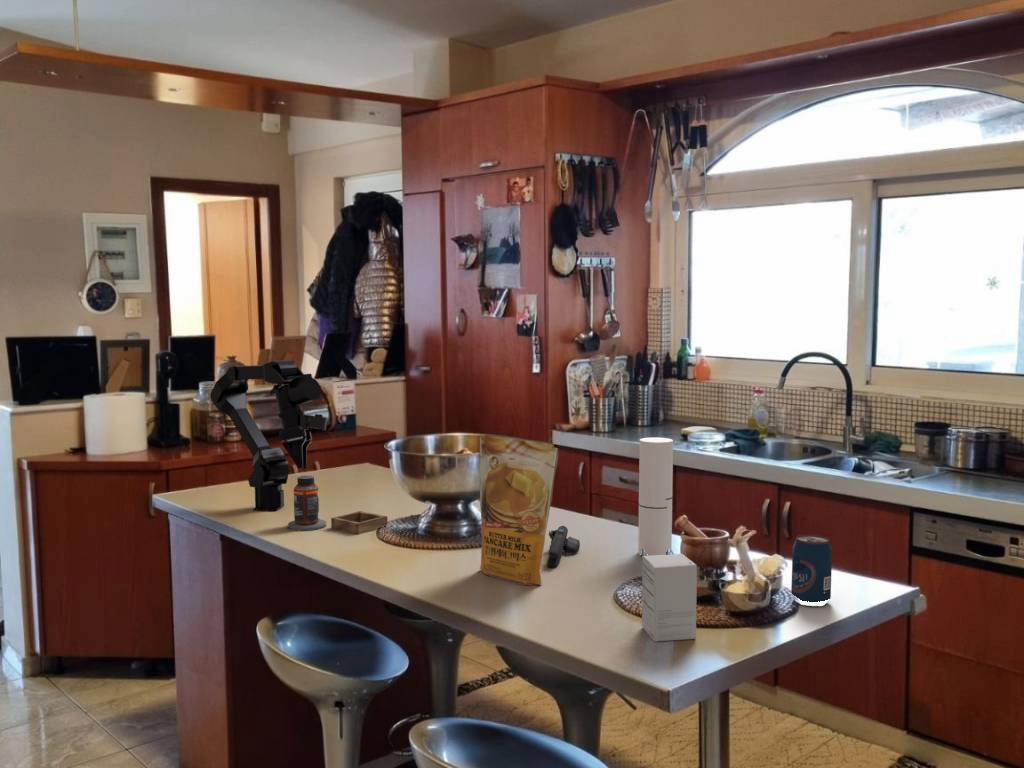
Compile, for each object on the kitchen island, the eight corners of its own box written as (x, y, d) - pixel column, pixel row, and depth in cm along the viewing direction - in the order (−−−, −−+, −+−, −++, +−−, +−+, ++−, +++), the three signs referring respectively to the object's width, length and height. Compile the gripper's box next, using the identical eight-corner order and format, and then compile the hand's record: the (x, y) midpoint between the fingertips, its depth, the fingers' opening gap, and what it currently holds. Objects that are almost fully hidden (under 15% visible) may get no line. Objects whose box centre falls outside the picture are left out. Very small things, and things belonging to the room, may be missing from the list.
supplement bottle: (324, 521, 241) (323, 475, 240) (310, 526, 235) (310, 479, 234) (303, 519, 243) (302, 473, 242) (289, 524, 237) (288, 478, 236)
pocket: (331, 528, 237) (331, 518, 237) (360, 520, 244) (360, 511, 244) (358, 534, 231) (358, 523, 231) (387, 526, 239) (387, 516, 238)
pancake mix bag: (490, 564, 206) (489, 431, 203) (560, 582, 193) (561, 441, 191) (467, 571, 201) (466, 435, 198) (538, 590, 188) (539, 445, 186)
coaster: (283, 530, 235) (283, 526, 235) (295, 521, 244) (295, 518, 244) (319, 531, 234) (319, 527, 234) (330, 522, 243) (330, 519, 243)
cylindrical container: (678, 553, 214) (679, 440, 211) (657, 559, 209) (658, 443, 207) (652, 547, 219) (653, 436, 217) (631, 553, 214) (632, 439, 212)
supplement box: (682, 624, 169) (683, 552, 167) (696, 640, 161) (698, 564, 160) (640, 627, 168) (641, 554, 166) (653, 642, 160) (654, 566, 159)
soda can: (783, 601, 181) (785, 537, 180) (806, 594, 185) (808, 531, 184) (815, 610, 176) (817, 545, 175) (838, 603, 180) (840, 539, 179)
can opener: (551, 546, 221) (551, 522, 220) (582, 548, 219) (582, 523, 218) (534, 568, 204) (534, 541, 203) (567, 570, 202) (567, 544, 201)
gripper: (318, 398, 241) (331, 460, 240) (324, 404, 260) (336, 462, 259) (272, 408, 240) (286, 470, 239) (282, 414, 258) (294, 472, 257)
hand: (302, 468), depth 248 cm, fingers open, 9 cm apart
